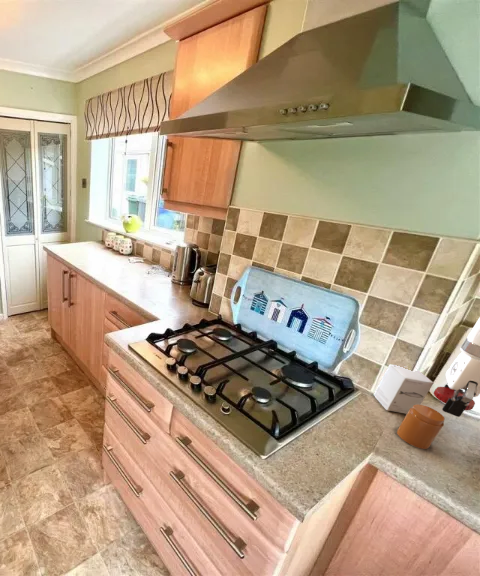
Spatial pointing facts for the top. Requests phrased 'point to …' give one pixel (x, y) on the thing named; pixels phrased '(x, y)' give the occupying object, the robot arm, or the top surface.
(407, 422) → the jar
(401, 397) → the white packaging box
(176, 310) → the top surface
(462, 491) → the top surface
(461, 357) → the robot arm
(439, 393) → the lid
